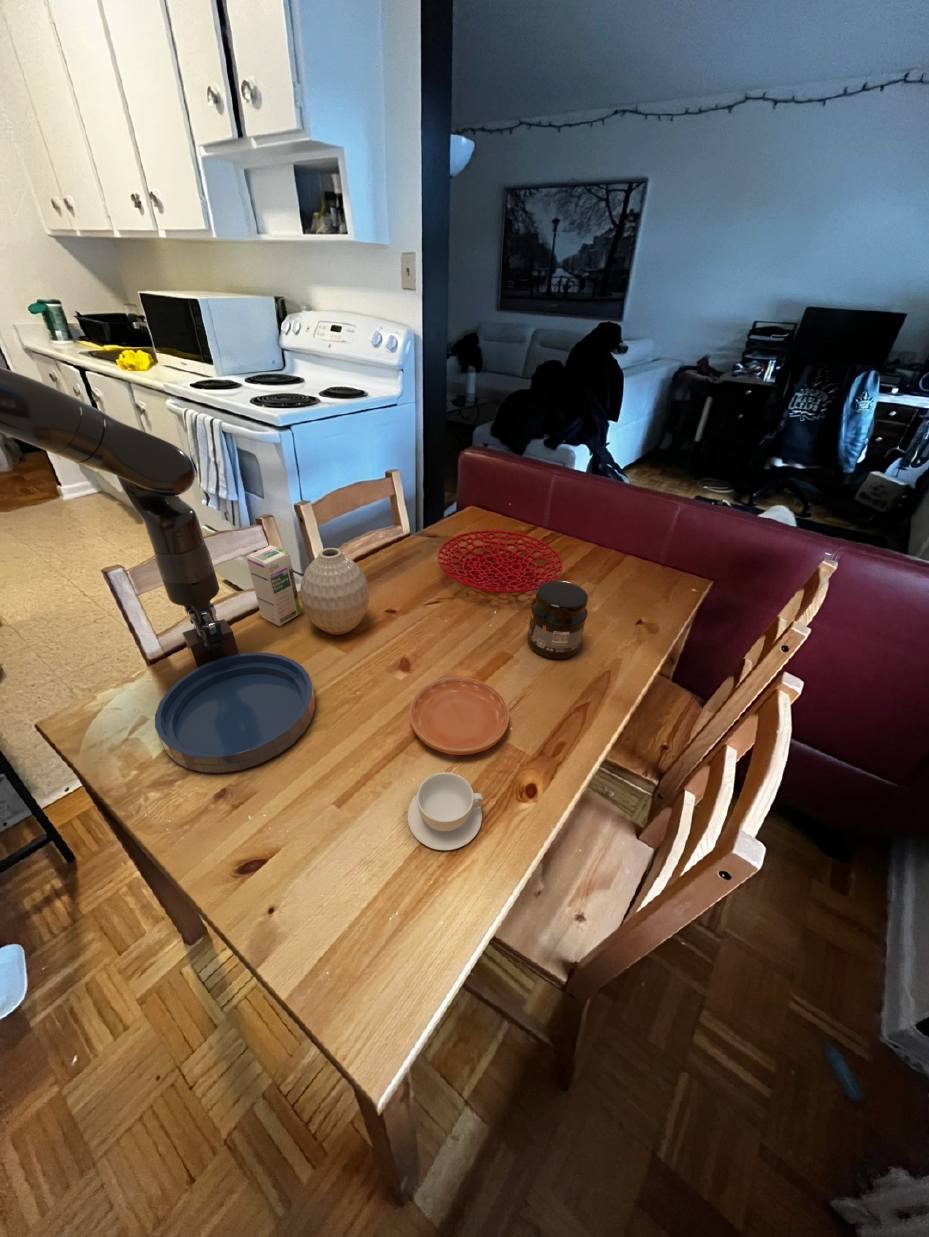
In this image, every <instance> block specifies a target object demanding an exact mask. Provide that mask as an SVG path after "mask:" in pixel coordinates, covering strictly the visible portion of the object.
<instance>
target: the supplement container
mask: <svg viewBox="0 0 929 1237" xmlns="http://www.w3.org/2000/svg"><path fill="white" fill-rule="evenodd" d="M536 588H537V587H536ZM535 591H536V592H535V597H534V599H533V601H532V603H531V607H530V609H531V610H530V611H531V612H530V618H529V624H528V625H529V626H528V630H527V638H526V640H527V643H528V645H529V647H530V648H531V649H532V650H533V651H534V652H535V653H537V654H539V655H541V656H543V657H546V658H550V659H560V660H561V659H567V658H569V657H572V656H574V655H575V654H576V653H577V652H578V651H579V650H580V648H581V643H582V636H583V633H584V628H585V625H586V621H587V618H588V608H587V606H588V602H589V595H588V593H587V591H585V589H584V588H582V587H581V586H579V585H578V584H576V583H573V582H569V581H565V580H555V581H549V582H546V583H543V584H541V585H540V586H539V587H538V588H537V590H535Z"/></svg>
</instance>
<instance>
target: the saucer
mask: <svg viewBox="0 0 929 1237" xmlns="http://www.w3.org/2000/svg"><path fill="white" fill-rule="evenodd" d="M408 709H409V710H408V716H409V722H410V725H411V728H412V730H413V732H414V733H415V735H416V736H417V737H418V738H419V739H420V741H421V742H422V743H424V744H425V745H426V746H428V747H429V748H431V749H434V750H436V751H438V752H440V753H444V754H447V755H458V756H463V755H464V756H465V755H473V754H477V753H480V752H484V751H486V750H488V749H490V748H491V747H493V746H494V745H496V744H497V743H498V742H499V741H500V740H501V739H502V738H503V737H504V736H505V733H506V732H507V729H508V726H509V723H510V709H509V706H508V704H507V702H506V699H505V698H504V697H503V696H502V694H501V693H500V692H499V691H498V690H497V689H495V688H494V687H493V686H491V685H489V684H487V683H485V682H484V681H481V680H478V679H475V678H471V677H467V676H447V677H442V678H439V679H436V680H433V681H431V682H429V683H427V684H426V685H424V686H422V687H421V688H420V689H419V690H418V691H417V692H416V693H415V695H414V696H413V698H412V700H411V701H410V705H409V708H408Z"/></svg>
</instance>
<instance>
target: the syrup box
mask: <svg viewBox="0 0 929 1237" xmlns="http://www.w3.org/2000/svg"><path fill="white" fill-rule="evenodd" d="M245 559H246V563H247V566H248V570H249V574H250V578H251V581H252V585H253V590H254V593H255V597H256V602H257V605H258V609H259V612H260V616H261V618H263V619H264V620H266V621H268V622H269V623H271V624H274V625H276V626H278V627H281V626H283V625H284V624H285V623H287V622H289V621H290V620H293V619H294V618H297V617H298V616H300V615H301V614H302V611H301V605H300V601H299V600H300V599H299V596H298V591H297V590H298V589H297V584H296V579H295V574H294V569H293V565H292V559H291V554H290V552H288V550H287V551H286V550H284V549H283V548H280V547H278V546H275V545H271V544H269V545H268V546H266V547H264V548H262V549H259V550H257V551H255V552H253V553H251V554H247V555H246V556H245Z"/></svg>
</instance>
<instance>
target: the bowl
mask: <svg viewBox="0 0 929 1237" xmlns="http://www.w3.org/2000/svg"><path fill="white" fill-rule="evenodd" d="M495 534H499V535H495ZM502 534H503V535H504V534H505V536H502ZM472 535H474V536H475V537H472ZM467 536H468V537H467ZM491 536H492V537H491ZM464 537H466V538H464ZM496 539H497V541H495V540H496ZM526 539H528V540H526ZM470 540H471V541H470ZM478 540H479V541H480V542H481V543H482V544H475V543H474V542H475V541H478ZM501 540H504V541H505V542H503V541H501ZM518 540H519V541H521V542H519V541H518ZM509 541H513V542H509ZM460 542H465V543H466V544H465V545H460ZM447 545H449V546H448V547H447ZM493 545H495V546H493ZM540 545H542V546H544V547H541V546H540ZM469 546H472V547H471V548H469ZM521 546H523V547H524V548H520V547H521ZM508 547H513V548H516V549H515V550H512V549H509V548H508ZM536 548H537V549H536ZM443 549H444V550H445V551H443ZM478 549H482V552H475V550H478ZM488 549H491V550H488ZM528 549H531V550H532V551H529V550H528ZM462 550H465V552H463V551H462ZM547 550H550V552H547ZM518 553H525V555H526V556H523V555H520V554H518ZM535 553H537V554H541V555H539V556H534V554H535ZM457 554H460V556H458V555H457ZM440 555H443V556H440ZM468 555H471V557H467V556H468ZM485 555H486V556H485ZM555 558H557V561H556V560H555ZM549 559H551V560H550V561H548V560H549ZM440 560H442V561H440ZM453 560H455V561H453ZM539 560H542V561H544V563H543V564H537V563H535V562H534V561H539ZM491 561H492V562H491ZM437 563H438V565H439V567H440V568H441V571H442V572H443V573H444V574H445V575H446V576H448V578H450V579H451V580H454V581H455V582H458V584H460V585H463V586H466V587H469V588H472V589H475V590H479V591H483V592H489V593H497V594H520V593H528V592H532V591H533V592H534V591H537V588H538V587H539V586H540V585H541V584H543V583H546V582H549V581H557V579H559V577H560V576H561V574H562V572H563V569H564V566H563V559H562V557H561V555H560V554H559V553H558V552H557V551H556V549H555V548H553V546H551V545H550V544H548V543H547V542H545V541H543V540H541V539H538V538H536V537H534V536H530V535H528V534H523V533H520V532H514V531H507V530H499V529H498V530H497V529H485V530H473V531H468V532H464V533H461V534H458V535H455V536H453V537H452V538H450V539H448V540H447V541H445V542H444V543H443V544H441V546H440V547H439V549H438V553H437ZM557 564H560V565H559V566H557ZM546 565H550V566H547V567H546ZM443 566H444V567H445V568H444V567H443ZM455 566H459V567H460V568H462V569H457V568H456V567H455ZM530 566H531V567H530ZM538 569H539V570H540V569H542V571H537V570H538ZM551 572H553V573H551ZM538 581H539V582H538Z"/></svg>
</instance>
